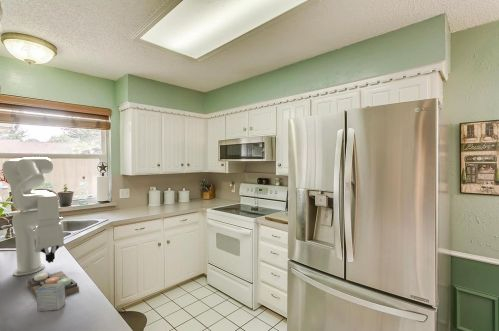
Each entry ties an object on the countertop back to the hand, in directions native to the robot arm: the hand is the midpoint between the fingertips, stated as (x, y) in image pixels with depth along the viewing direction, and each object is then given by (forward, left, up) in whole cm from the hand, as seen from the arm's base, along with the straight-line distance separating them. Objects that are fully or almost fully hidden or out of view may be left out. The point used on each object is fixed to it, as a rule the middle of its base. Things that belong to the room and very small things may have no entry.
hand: (50, 261), depth 115 cm
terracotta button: (+1, 0, -10) cm, 10 cm away
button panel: (+1, 0, -12) cm, 12 cm away
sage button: (+9, +3, -9) cm, 13 cm away
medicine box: (+20, -4, -12) cm, 24 cm away
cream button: (-7, -2, -9) cm, 12 cm away
